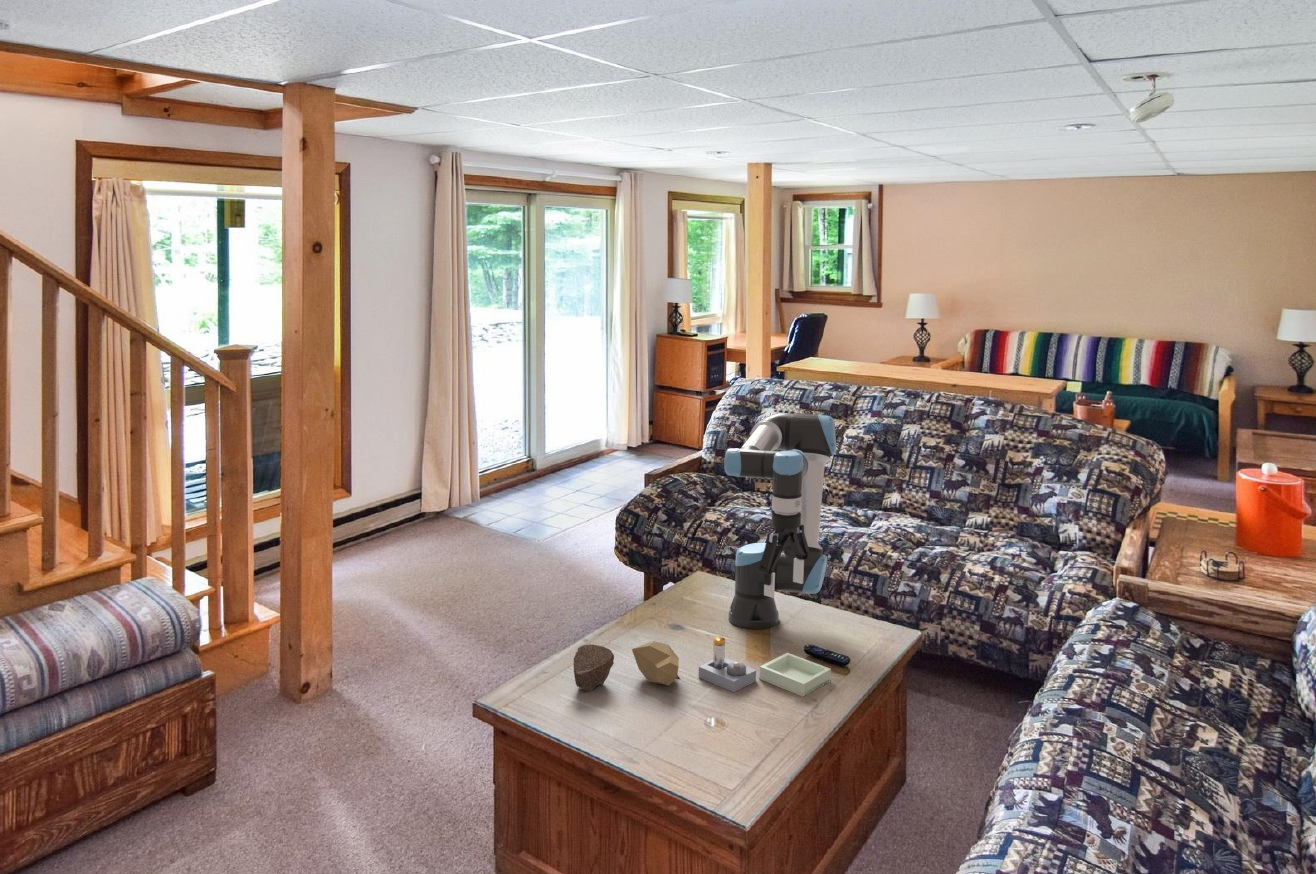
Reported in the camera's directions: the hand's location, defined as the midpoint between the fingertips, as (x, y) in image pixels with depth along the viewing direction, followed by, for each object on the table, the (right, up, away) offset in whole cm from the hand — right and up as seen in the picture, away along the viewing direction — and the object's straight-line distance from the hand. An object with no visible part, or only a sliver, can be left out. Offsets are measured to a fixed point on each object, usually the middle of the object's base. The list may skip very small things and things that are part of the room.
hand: (783, 589), depth 247 cm
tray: (+3, -24, -1) cm, 24 cm away
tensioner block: (-15, -23, -1) cm, 28 cm away
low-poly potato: (-33, -24, -3) cm, 41 cm away
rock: (-50, -24, -5) cm, 56 cm away
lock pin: (-17, -23, +1) cm, 29 cm away
